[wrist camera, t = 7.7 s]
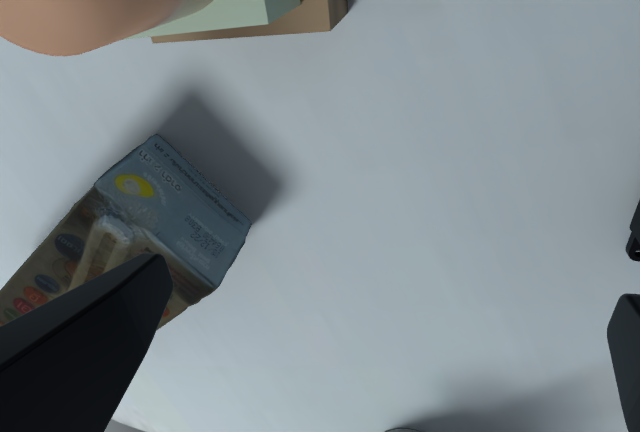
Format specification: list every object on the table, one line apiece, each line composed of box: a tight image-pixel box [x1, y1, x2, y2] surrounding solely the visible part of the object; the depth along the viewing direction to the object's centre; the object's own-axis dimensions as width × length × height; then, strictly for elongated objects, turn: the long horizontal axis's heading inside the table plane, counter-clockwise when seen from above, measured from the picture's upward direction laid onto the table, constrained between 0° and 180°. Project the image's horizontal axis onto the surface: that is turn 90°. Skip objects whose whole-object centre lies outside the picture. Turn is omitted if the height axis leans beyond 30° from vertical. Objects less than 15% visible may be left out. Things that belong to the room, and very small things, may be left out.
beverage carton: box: [0, 134, 251, 330], centre depth 27 cm, size 8×19×7 cm, turn 134°
